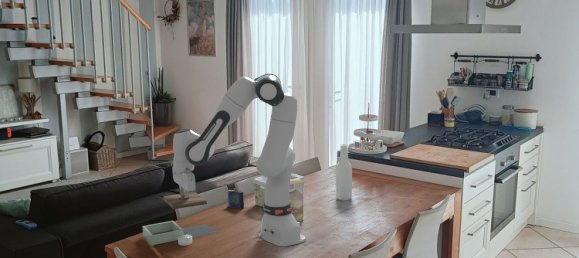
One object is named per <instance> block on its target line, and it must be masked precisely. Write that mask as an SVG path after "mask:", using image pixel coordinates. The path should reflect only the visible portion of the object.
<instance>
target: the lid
mask: <svg viewBox="0 0 579 258" xmlns="http://www.w3.org/2000/svg"><path fill="white" fill-rule="evenodd" d="M162 198H163V199H162V200H163V201H164V202H165V203H166V204H167V205H168V206H169V207H170V208H172V210H177V209H178V210H179V209H183V208H191V207H197V206H204V205H207V203H208V202H207V200H206V199H205V198H204V197H203V196H202V195H200V194H198V193H197V192H196V191H190V192H189V197H188V198H185V197H184V190H180V189H179V193H178V194H170V195H164V196H162Z"/></svg>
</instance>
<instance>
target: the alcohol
mask: <svg viewBox="0 0 579 258" xmlns="http://www.w3.org/2000/svg"><path fill="white" fill-rule="evenodd" d="M348 146H349V145H348V144H343V143H342V144H340V151H339V152H340V153H339V161H338V163H336V166H335V198H336V199H337V200H338V201H350V200H351V199H352V197H353V190H352V189H353V166H352V164H351V163H350V161H349V150H348V148H349V147H348Z"/></svg>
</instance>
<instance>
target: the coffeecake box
mask: <svg viewBox="0 0 579 258" xmlns="http://www.w3.org/2000/svg"><path fill="white" fill-rule="evenodd" d="M303 186H304V185H303V181H302V180H301V179H292V178H291V179H290V186H289V202H290V205H291V208H292V209H291V210H292V214H293V216H294V217H295V219H296V221H297V222H302V221H304V187H303Z"/></svg>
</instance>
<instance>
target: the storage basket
mask: <svg viewBox="0 0 579 258" xmlns="http://www.w3.org/2000/svg"><path fill="white" fill-rule="evenodd" d="M267 178H268V177H264V176H262V175H261V176H258V177H255V178H253V182H252V184H253V190H254V201H255V205H257V206H258V207H262V208H263V209H264V203H265V192H264V187H265V184H266V181H267ZM291 179H301V180H302V181H303V188H304V186H305V176H302V175H300V174H296V173H291Z"/></svg>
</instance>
